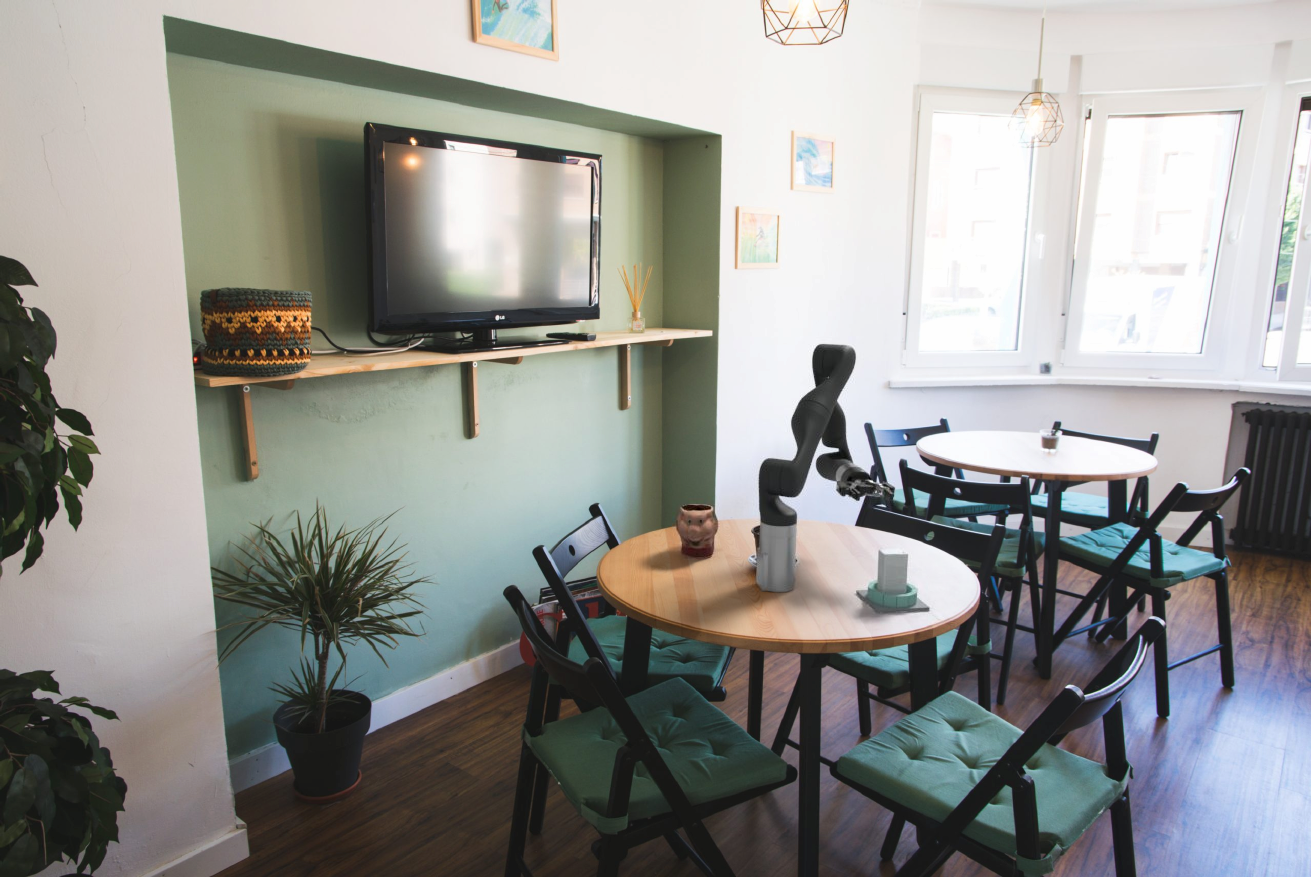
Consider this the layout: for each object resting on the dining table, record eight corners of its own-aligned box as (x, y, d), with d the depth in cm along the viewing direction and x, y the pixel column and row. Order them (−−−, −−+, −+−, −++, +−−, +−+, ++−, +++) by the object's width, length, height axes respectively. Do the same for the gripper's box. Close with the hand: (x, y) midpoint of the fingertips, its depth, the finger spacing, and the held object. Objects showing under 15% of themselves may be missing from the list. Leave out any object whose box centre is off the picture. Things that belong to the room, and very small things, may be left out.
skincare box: (899, 594, 198) (902, 548, 196) (906, 601, 194) (909, 553, 192) (875, 595, 198) (878, 548, 196) (881, 601, 194) (884, 554, 192)
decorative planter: (675, 541, 243) (676, 497, 241) (715, 542, 243) (716, 497, 241) (676, 563, 224) (676, 515, 221) (719, 563, 223) (720, 515, 221)
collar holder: (877, 613, 189) (878, 598, 188) (856, 593, 202) (856, 579, 201) (929, 610, 191) (930, 596, 190) (905, 590, 203) (905, 577, 203)
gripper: (829, 466, 217) (849, 482, 201) (880, 466, 218) (903, 483, 203) (826, 492, 219) (846, 511, 203) (877, 493, 220) (900, 511, 204)
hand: (875, 497), depth 203 cm, fingers open, 8 cm apart
